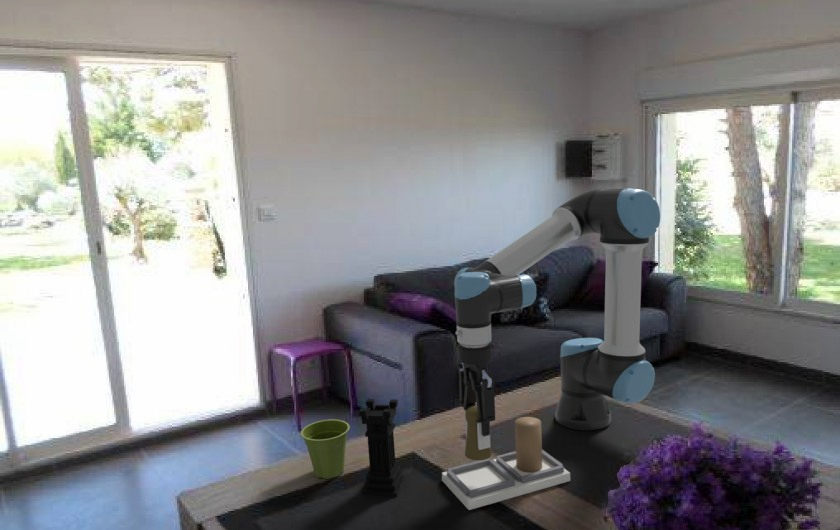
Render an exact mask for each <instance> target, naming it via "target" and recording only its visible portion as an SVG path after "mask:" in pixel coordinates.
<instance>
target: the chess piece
mask: <svg viewBox="0 0 840 530" xmlns="http://www.w3.org/2000/svg"><path fill="white" fill-rule="evenodd" d="M388 403H389V404H376V403H375V398H367V399H366V401H365V407H366V408H365V407H362V408H360V409H358V417H361V425H366V431H365V433H364V436H365V438H367V448H368V460H369V463H368V464H369V471H368V473H366V474H367V475H365V476H366V477H365V482H364V487H363V490H362V496H363V495H365V496H381V497H382V496H383V497H398V495H399V493H400V490H401V488H402V487H403V484H404V482H405V479H406V477H405V475H403V469H400V468H401V464H398V463H396V451H395V440H394V439H395V438H394V437H395V436H394V429H395V428H396V424H395V423H394V421H393V420H394V419H395V416H396V415H397V406H398V405H399V401H398V399H390V400H389V402H388ZM403 481H404V482H403Z"/></svg>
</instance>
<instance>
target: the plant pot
mask: <svg viewBox="0 0 840 530" xmlns="http://www.w3.org/2000/svg"><path fill="white" fill-rule="evenodd" d="M350 428H351V427H350V424H349V423H348V422H347V421H344V420H341V419H324V420H319V421H315V422H312V423H309V424H308V425H306V426H305V427H303V428H302V429H301V431H300V436H301V437H302V438H303V440H304V443H305V445H306V447H307V451H308V454H309V458H310V460H311V465H312V468H313V472H314V475H315V477H317V478H322V479H326V480H327V479H332V478H336V477H339V476H340V475H341V474H342V473H344V471H345V464H346V463H345V460H346V448H347V447H346V446H347V439H348V438H347V437H348V432H349V430H350Z"/></svg>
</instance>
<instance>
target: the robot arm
mask: <svg viewBox="0 0 840 530" xmlns="http://www.w3.org/2000/svg"><path fill="white" fill-rule="evenodd" d="M660 224H661V210H660V206H659V204H658V202H657V199H656V198H655V197H654V196H653V194H652V193H650V192H649V191H647V190H644V189H638V188H630V187H628V188H604V187H603V188H593V189H590V190H587V191H585V192H582V193H580V194H578V195H576V196H574V197H573V198H571V199H569V200H568V201H566V202H564V203H562V205H560V206H558V207H557V208H555V209H554V210H553V212H552V216H550V217H548V218H547V219H546V220H544V221H543V222H541V223H540V224H539V225H537V226H536V227H534V228H532V229H531V230H530V231H528V232H527V233H525V234H523V235H522V236H521V237H519V238H518V239H515V241H513V242H512V243H511V244H509V245H507V246H506V247H505V248H503V249H501V250H500V251H498V252H496V253H495V254H494V255H493V256H491V257H490V258H489V257H488V259H487V260H485V261H483V262H482V263H480V264H479V265H477V266H476V267H464V268H461V269H460V270H459V271H458V272H457V273H456V275H455V277H454V281H453V284H454V300H455V302H454V303H455V318H456V319H455V320H456V331H455V335H456V339H457V342H458V344H457V348H456V349H457V360H458V363H457V371H458V386H459V387H458V388H459V390H458V391H459V404H460V405H461V406H463V407H462V408H463V411H464V414H465V413H466V410H467V409H468V408H469V407H472V406H477V409H478V416H479V420H476V422H477V433H478V449H479V450H481V449H486V448H490V447H491V426H490V425H491V423H490V422H494V421H496V401H495V384H496V379H495V377H494V376H492V377H490V376H489V373H488V372H489V371H488V365H487V364H489V362H491V361H492V359H493V352H492V351H493V347H492V343H491V342H492V314H497V313H502V312H507V311H513V310H522V309H524V308H526V307H529V306H531V305H533V304H534V303H535V301H536V298H537V285H536V283H535V281H534V279H533V278H532V277H531V276H530V275H528V274H523V272H525V271H527V270H528V269H529V268H531V267H532V266H533V265H535V264H536V263H538V262H539V261H541V260H542V259H544V258H545V257H547V256H548V255H549V254H551V253H552V252H554V251H555V250H557V249H558V248H560V247H561V246H562V245H564V244H566V243H567V242H569V241H576V240H577V239H580V238H581V237H582V236H584V235H589V234H599V244H600V245H601V246H603V248H604V249H605V282H604V284H605V286H604V287H605V288H604V293H605V294H604V325H603V326H604V327H603V328H604V330H603V331H604V332H603V333H604V334H603V337H604V339H600V338H597V337H581V338H574V339H569V340H566V341H564V342H562V344H561V346H560V355H559V359H560V361H559V362H560V385H561V386H560V388H561V390H560V395H559V399H558V402H557V406H556V408H555V420H556V422H557V423H558V424H559V425H560V426H562V427H566V428H568V429H572V430H579V431H596V430H601V429H604V428H606V427H608V426H610V424H611V422H612V413H611V410H610V406H609V404H608V401H607V399H606V397H608V398H611V399H614V400H615V401H616V402H622V403H625V404H629V405H633V404H638V403H639V402H642V401H643V400H644V399H646V397H647V396H648V394H649V393H650V392H651V390H652V388H653V386H654V384H655V379H656V372H655V368H654V367H653V364H651V363H650V362H649V361H648V360H646V349H645V347H644V346H642V344H641V342H640V335H641V334H640V331H641V329H640V328H641V323H640V322H641V300H642V299H641V296H642V293H641V292H642V262H643V261H642V260H643V259H642V258H643V250H644V249H645V248H646V247H647V246H648V245H649V243H650V237H652V236H654V235H655V234H656V232H657V231H658V230H657V229H658V228H659V227H660ZM521 273H522V274H521ZM464 417H465V416H464ZM464 419H465V438H467V427H468V422H467V421H466V417H465V418H464Z"/></svg>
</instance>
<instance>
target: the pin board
mask: <svg viewBox="0 0 840 530" xmlns="http://www.w3.org/2000/svg"><path fill="white" fill-rule="evenodd" d="M514 432H515V434H514V435H515V450H514V451H511V452H506V453H504V454H499V455H496V456H495V458H493V459H491V458H488V459H485V460H474V461H473V462H472V461H471V462H469V463H464V464H461V465H457V466H456V465H455V466H453V467H449V468H447V469H446V471H442V472H441V482H443V483H444V484H445V485H446V487H447V488H448V489H449V490H450V491H451V492H452V494H453V495H455V497H456V498H457V499H458V500H459V501H460V502H461V503H462V504H463V505H464V507H465V508H466V509H467V510H468V511H471V510H474V509H478V508H481V507H484V506H487V505H492V504H496V503H498V502H502V501H505V500H506V501H507V500H509V499H512V498H516V497H520V496H523V495H526V494H530V493H534V492H536V491H540V490H544V489H547V488H551V487H554V486H557V485H560V484H564V483H567V482H571V472H570V471H568V470H567V469H566V468H565V466H564V464H563V463H562V462H561V461H559V460H558V459H556V458H554V457H553V456H552V455H550V454H549V453H548V452H547V451H545V450H544V449H543V446H542V445H543V443H542V442H543V441H542V439H543V438H542V421H541V420H540V419H539V418H537V417H534V416H533V417H532V416H523V417H519V418H517V419H515V421H514Z"/></svg>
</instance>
